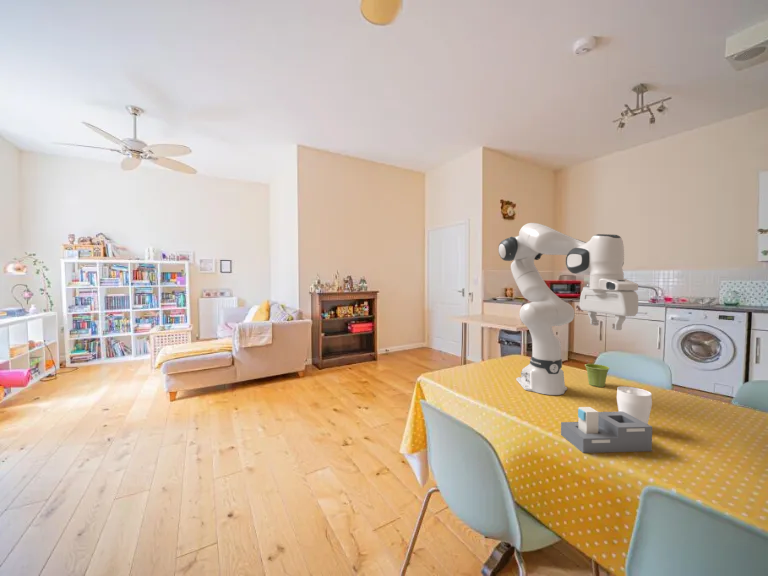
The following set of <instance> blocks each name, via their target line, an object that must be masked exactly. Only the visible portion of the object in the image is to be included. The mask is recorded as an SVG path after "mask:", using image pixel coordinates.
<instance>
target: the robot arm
mask: <svg viewBox="0 0 768 576" xmlns="http://www.w3.org/2000/svg"><path fill="white" fill-rule="evenodd" d="M497 248H498V249H497V250H498V251H497V252H498V256H500V259H502V260H503V261H506V262H511V261H512V262H511V263H510V270H511V275H512V277H513V280H514V282H515V284H516V286H517V287H518V290H519V292H520V293H521V296H522V297H523V298H524V299H526V300H528V301H529V302H527V303H524V304H522V306H521V307H520V309H519V311H518V313H519V314H518V316H519V320H520V321H521V323H522V324H523V325H524V326H526V328H527V329H528V330H529V331H528V332H529V333H530V337H531V345H532V346H531V348H532V352H531V353H532V354H531V355H530V356H529V359H530V361H529V364H528V365H526V366H525V367H523V368H522V370H521V372H520V376H518V377H516V378H515V379H516V382H518V383H519V385H520V386H521V387H522V388H523V389H524V391H525V390H526V391H528V392H533V393H537V394H543V395H548V396H549V395H550V396H560V395H564V394H565V392H566V391H568V387H567V386H566V384H565V382H566V381H565V374H564V372H565V371H564V370H563V369H562V367H563V362H562V361H563V360H562V357H561V356H562V355H561V353H562V351H561V350H562V342H561V340H560V339H559V338H558V336H556V335H555V334H554V331H553V327H560V326H564V325H566V324H570V323H571V322H573V320H574V319H575V314H576V313H575V309H574V307H573V306H572V305H571V304H570V303H569V302H566V301H565V300H563V299H562V298H561V297H559V296H558V295H557V294H556V293H555V292H553V290H552V289H551V288H550V287H549V286H548V285H547V283H546V282H545V280H544V279H543V277H542V275H541V273H540V272H539V270H538V268H537V267H536V265H535V261H539V260H540V259H541V257H542V256H543V255H546V256H547V255H549V256H551V255H553V256H557V255H559V256H565V266H566V269H567V270H568V272H570V273H571V274H574V275H583V276H584V275H589V283H587V284H585V285H584V286H583V287H582V291H581V293H580V297H579V298H580V299H579V308H580V310H581V311H586V312H587V315H588V318H589V319H590V320H589V321H590V323H589V324H590V325H591V326H599V320H598V318H597V314H598V313H600V314H608V315H614V319H616V320H615V322H614V323H612V330H615V331H621V330H622V328H623V324H624V322H625V320H626V317H636V316H637V314H638V312H639V295H638V293H637V292H636V291H638V289H639V284H638V283H637V282H634V281H632V280H629V279H626V278H624V276H625V275H624V270H623V267H624V263H625V246H624V241H623V239H622V236H620V235H618V234H610V233H609V234H605V233H603V234H600V233H598V234H594V235H593V236H591V238H590V240H588V241H583V240H580V239H577V238H574V237H572V236H570V235H567V234H565V233H562V232H561V231H559V230H556V229H554V228H552V227H550V226H547V225H545V224H541V223H537V222H529V223H526V224H524V225H523V226H522V227H521V228H520V230H519V232H518V235H517V236H510V237H508V238H505V239H503V240H501V242H499V244H498V247H497Z"/></svg>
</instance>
